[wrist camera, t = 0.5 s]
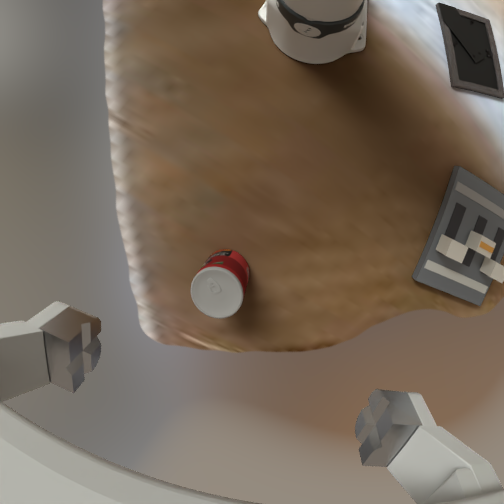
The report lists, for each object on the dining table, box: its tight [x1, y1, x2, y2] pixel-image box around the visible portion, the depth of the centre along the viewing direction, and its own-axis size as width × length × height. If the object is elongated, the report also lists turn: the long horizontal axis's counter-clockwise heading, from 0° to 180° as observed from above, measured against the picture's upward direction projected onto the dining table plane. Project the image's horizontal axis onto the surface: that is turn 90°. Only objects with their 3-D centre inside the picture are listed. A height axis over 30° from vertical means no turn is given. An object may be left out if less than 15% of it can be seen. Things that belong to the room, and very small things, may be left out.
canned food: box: [191, 249, 249, 318], centre depth 51 cm, size 8×8×11 cm
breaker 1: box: [435, 234, 469, 263], centre depth 47 cm, size 3×4×4 cm
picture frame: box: [436, 3, 504, 99], centre depth 40 cm, size 13×2×18 cm
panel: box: [412, 166, 504, 306], centre depth 50 cm, size 22×18×2 cm
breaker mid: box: [465, 231, 496, 258], centre depth 46 cm, size 3×4×4 cm
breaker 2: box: [480, 256, 504, 283], centre depth 47 cm, size 3×4×4 cm
